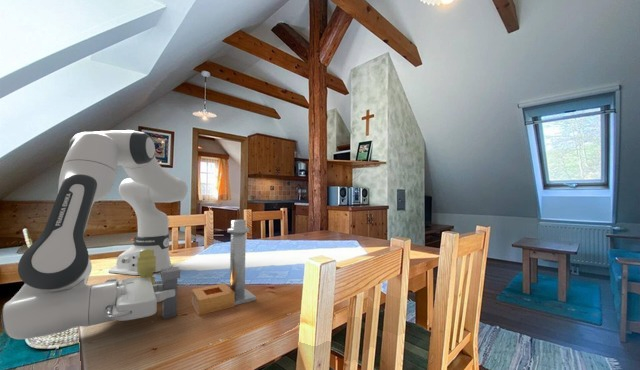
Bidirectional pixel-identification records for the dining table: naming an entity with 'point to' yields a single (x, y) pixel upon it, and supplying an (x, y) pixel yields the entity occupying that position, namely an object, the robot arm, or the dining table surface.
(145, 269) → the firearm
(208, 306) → the metal post on base
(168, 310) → the grey square peg
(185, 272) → the dining table surface
